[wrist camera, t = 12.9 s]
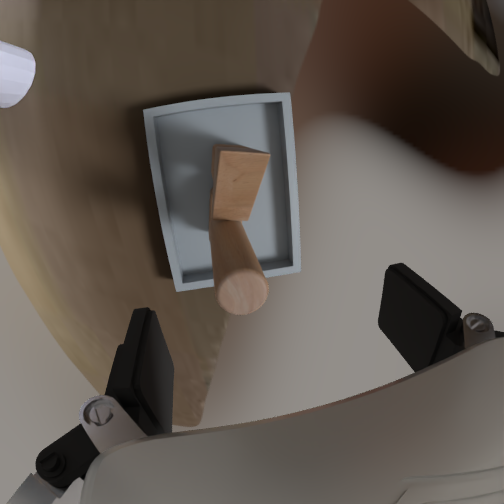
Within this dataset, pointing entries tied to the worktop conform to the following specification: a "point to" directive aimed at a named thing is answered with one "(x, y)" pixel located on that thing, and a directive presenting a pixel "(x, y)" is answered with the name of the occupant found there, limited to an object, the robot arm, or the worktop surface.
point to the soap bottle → (14, 73)
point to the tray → (201, 182)
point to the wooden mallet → (235, 227)
